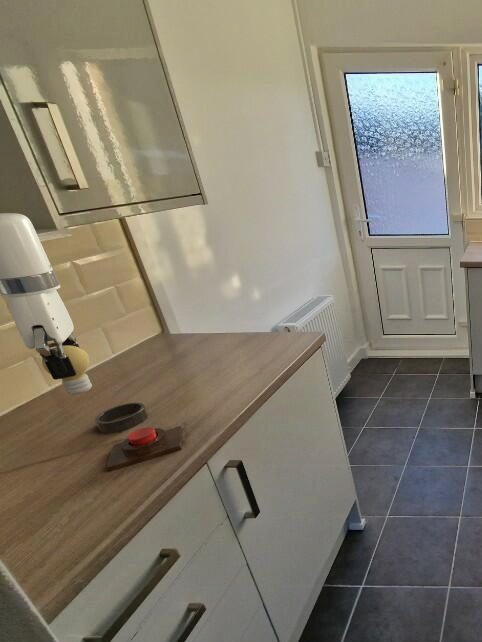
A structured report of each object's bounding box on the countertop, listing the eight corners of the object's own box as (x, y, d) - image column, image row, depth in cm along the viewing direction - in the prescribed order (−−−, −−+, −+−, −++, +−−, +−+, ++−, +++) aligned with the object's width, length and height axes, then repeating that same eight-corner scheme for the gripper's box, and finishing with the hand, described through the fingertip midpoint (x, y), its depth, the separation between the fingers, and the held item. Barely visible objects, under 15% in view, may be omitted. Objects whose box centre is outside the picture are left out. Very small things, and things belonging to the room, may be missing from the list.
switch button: (129, 449, 86) (126, 442, 86) (132, 438, 90) (129, 431, 89) (156, 441, 89) (153, 434, 88) (157, 431, 92) (155, 424, 91)
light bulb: (67, 402, 81) (44, 356, 77) (53, 395, 84) (29, 350, 80) (108, 387, 86) (88, 343, 82) (93, 381, 89) (73, 338, 85)
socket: (99, 442, 93) (91, 427, 91) (105, 424, 99) (99, 410, 97) (148, 429, 97) (142, 414, 95) (151, 412, 104) (145, 398, 102)
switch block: (108, 472, 84) (102, 460, 82) (115, 449, 90) (109, 438, 89) (181, 450, 90) (177, 438, 89) (183, 429, 97) (178, 419, 95)
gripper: (16, 276, 81) (57, 359, 88) (-23, 299, 67) (29, 394, 74) (69, 271, 84) (104, 350, 91) (42, 291, 71) (85, 382, 78)
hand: (70, 369), depth 83 cm, fingers closed on light bulb, 6 cm apart
